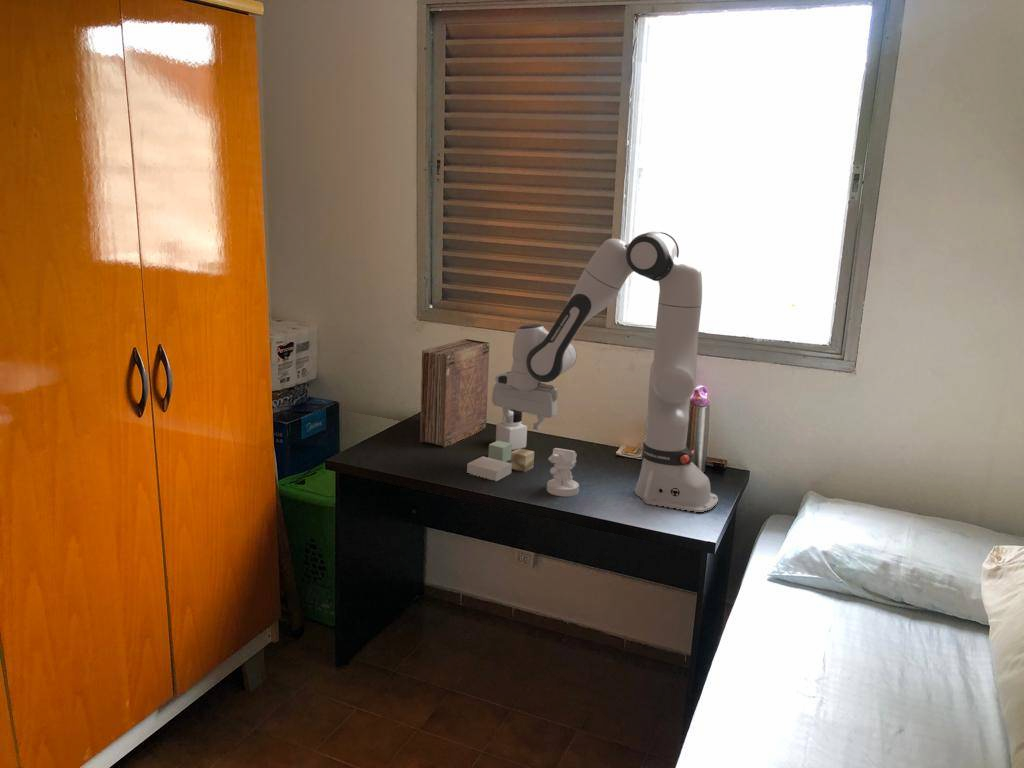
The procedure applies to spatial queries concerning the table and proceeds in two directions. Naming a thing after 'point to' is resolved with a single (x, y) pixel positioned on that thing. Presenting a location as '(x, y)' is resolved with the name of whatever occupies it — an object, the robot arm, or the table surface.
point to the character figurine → (562, 473)
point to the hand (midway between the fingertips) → (522, 425)
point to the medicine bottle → (512, 431)
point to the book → (454, 391)
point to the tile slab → (489, 468)
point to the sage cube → (500, 451)
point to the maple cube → (522, 459)
